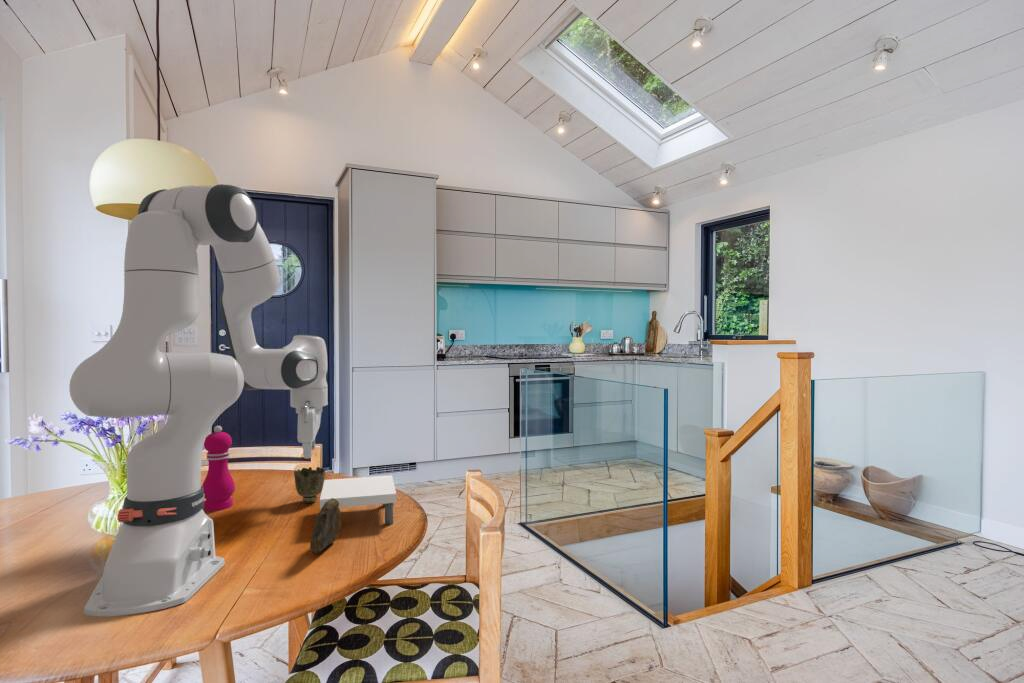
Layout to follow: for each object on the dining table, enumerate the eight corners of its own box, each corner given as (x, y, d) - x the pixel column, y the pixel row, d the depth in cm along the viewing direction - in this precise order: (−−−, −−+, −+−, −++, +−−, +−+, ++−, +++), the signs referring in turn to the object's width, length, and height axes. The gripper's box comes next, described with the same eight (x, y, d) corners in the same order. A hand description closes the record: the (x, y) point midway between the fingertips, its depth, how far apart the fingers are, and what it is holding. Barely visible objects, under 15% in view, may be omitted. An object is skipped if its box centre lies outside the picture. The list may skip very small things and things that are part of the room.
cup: (289, 506, 132) (289, 474, 132) (300, 497, 139) (300, 466, 139) (320, 506, 132) (319, 473, 132) (329, 497, 139) (329, 466, 139)
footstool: (396, 525, 119) (396, 493, 119) (319, 532, 115) (319, 499, 115) (392, 503, 135) (392, 475, 134) (324, 508, 130) (324, 479, 130)
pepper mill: (224, 512, 127) (224, 428, 127) (194, 512, 127) (194, 428, 127) (240, 502, 135) (240, 423, 134) (212, 502, 135) (211, 423, 134)
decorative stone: (344, 492, 108) (327, 488, 109) (321, 517, 99) (303, 513, 100) (340, 537, 111) (324, 533, 111) (318, 565, 102) (301, 562, 102)
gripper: (319, 403, 126) (319, 462, 126) (324, 394, 146) (325, 444, 146) (290, 404, 125) (290, 464, 125) (300, 394, 144) (300, 446, 144)
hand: (309, 453), depth 136 cm, fingers open, 8 cm apart
